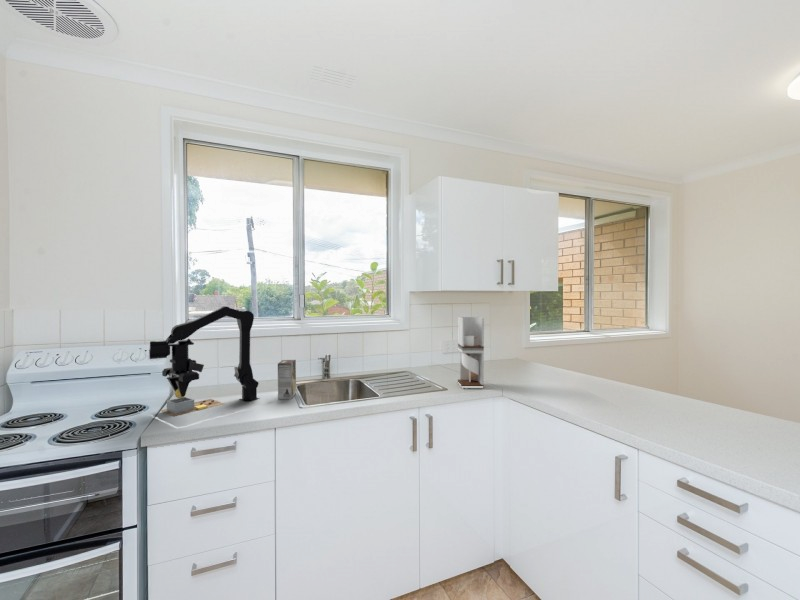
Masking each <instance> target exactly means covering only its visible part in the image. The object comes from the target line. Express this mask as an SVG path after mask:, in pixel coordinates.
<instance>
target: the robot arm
mask: <svg viewBox="0 0 800 600" xmlns="http://www.w3.org/2000/svg"><path fill="white" fill-rule="evenodd" d="M225 317H229V318H231V319H232V318H233V319H236V322H237V327H238V329H239V357H238V358H239V363H238V365H237V366H235V367H234V375H233V376H234V377H235V379H236V381H237V382H238V383H239V384H240V386H241V398H239V401H242V402H246V403H248V402H252V401H256V400H261V399H260V398H259V397H257V396H258V394H257V392H258V391H257V389H258V387H259V384H260V383H259V381H258V380H256V379H254V374H253V373H254V372H253V369H252V366H251V362H250V361H251V330H252V327H253V325H254V319H255V316H254V313H253V312H252V311H250V310H245V309H242V310H238V309H236V308H230V307H229V306H221V307H220V308H218V309H216V310H213V311H211V312H209V313H207V314H205V315H203V316H200V317H199V318H196V319H194V320H190V321H187V322H183V323H180V324H176V325H174V326H173V327H172V328H171V330H170V334H169V335H168V336H167V338H166V339H165V340H159V341H155V340H151V341H149V349H148V355H149V358H148V359H149V360H159V359H167V357H169V356H170V355H171V359H169V363H171V367H167V368H163V370H162V372H161V373H162V374H161V375H162V377H166V379H167V382H169V384H170V386H171V388H172V389H173V391H174V392H175V391H176V390H177V389H179V392H180V394H181V396H182V397H183V396H184V397H186V395H187V391H188V388H189V385H190V383H191V382H192V381H196V380H200V373H202V372H203V369H204V367H205V364H203V363H197V360H196V359H191V358H189V346H193V345H194V344H195V343H194V342H193V341H191V338H189V337H190V336H192V335H193V334H194V333H196V332H197V331H198V330H200V329H202V328H204V327H206V326H208V325H211V324H212V323H214V322H216V321H219V320H221V319H223V318H225ZM198 372H199V373H198ZM185 394H186V395H185Z"/></svg>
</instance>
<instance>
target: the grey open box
mask: <svg viewBox="0 0 800 600" xmlns="http://www.w3.org/2000/svg"><path fill="white" fill-rule="evenodd" d="M194 403H195V399H193V398H190V397H188V396H184V397H183V398H177V397H176V398H173V399H169V400H166V409H167V411H169V412H171V413H174V414H178V413H182V412H186V411H190V410H194Z"/></svg>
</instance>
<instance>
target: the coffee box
mask: <svg viewBox="0 0 800 600" xmlns="http://www.w3.org/2000/svg"><path fill="white" fill-rule="evenodd" d="M296 369H297V365H296V359H282V360H281V361H280V362H278V363H277V399H278V400H287V399H289V400H291V399H293V398H294V396H295V395H296V394H295V393H297V381H296V380H297V374H296V373H297V372H296V371H297V370H296Z"/></svg>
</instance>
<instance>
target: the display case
mask: <svg viewBox="0 0 800 600" xmlns="http://www.w3.org/2000/svg"><path fill="white" fill-rule="evenodd" d="M484 340H485V318H484V317H479V316H458V317H457V350H458V351H459V379H457V383H458V382H459V383H460V384H461V386H485V385H484V384H485V383H484V382H485V381H484V374H485V373H484V372H485V371H484V367H485V363H484V361H485V360H484V359H485V357H484V355H485V353H484V352H485V345H484V343H485V341H484Z"/></svg>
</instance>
